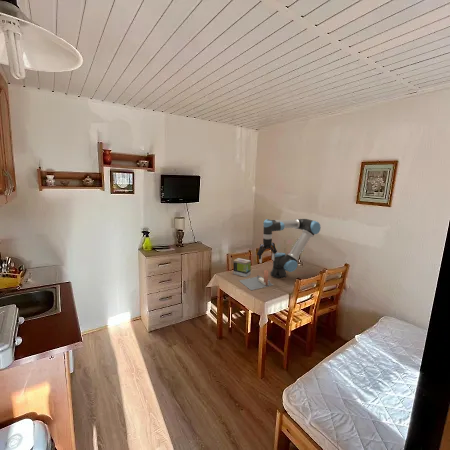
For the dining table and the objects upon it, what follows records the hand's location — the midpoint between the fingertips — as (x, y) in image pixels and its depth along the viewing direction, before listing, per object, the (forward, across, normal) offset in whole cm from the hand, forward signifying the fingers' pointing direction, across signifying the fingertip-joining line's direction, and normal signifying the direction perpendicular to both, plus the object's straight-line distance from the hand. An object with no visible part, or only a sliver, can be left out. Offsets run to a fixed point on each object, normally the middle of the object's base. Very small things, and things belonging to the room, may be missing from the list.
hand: (266, 261), depth 225 cm
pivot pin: (+23, 0, +12) cm, 26 cm away
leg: (+22, 0, +4) cm, 22 cm away
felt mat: (+23, -6, +7) cm, 25 cm away
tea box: (+23, -7, +31) cm, 40 cm away
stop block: (+23, +3, +4) cm, 23 cm away
